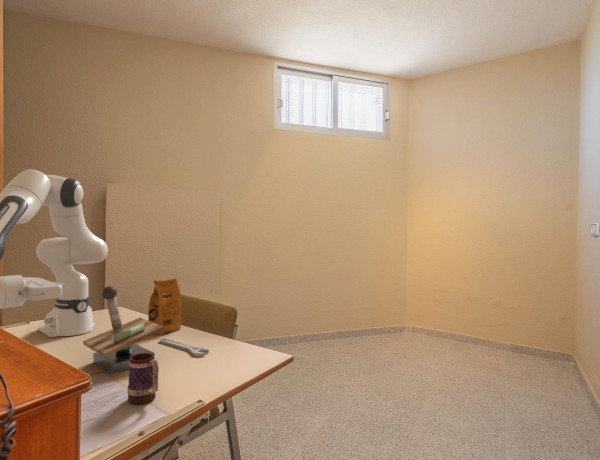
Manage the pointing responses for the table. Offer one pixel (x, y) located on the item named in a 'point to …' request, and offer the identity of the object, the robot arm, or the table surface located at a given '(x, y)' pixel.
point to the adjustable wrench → (186, 347)
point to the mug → (142, 378)
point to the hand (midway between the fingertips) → (68, 285)
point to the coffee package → (165, 305)
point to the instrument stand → (119, 358)
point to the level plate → (108, 343)
